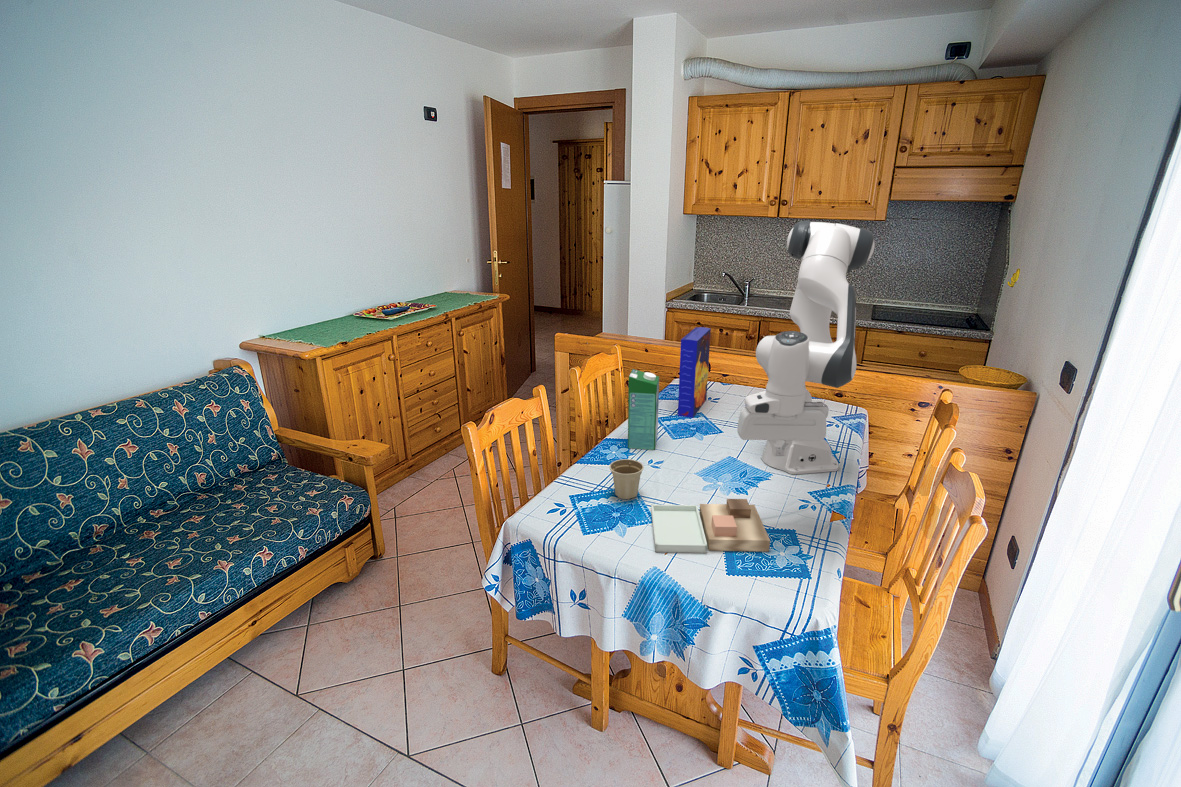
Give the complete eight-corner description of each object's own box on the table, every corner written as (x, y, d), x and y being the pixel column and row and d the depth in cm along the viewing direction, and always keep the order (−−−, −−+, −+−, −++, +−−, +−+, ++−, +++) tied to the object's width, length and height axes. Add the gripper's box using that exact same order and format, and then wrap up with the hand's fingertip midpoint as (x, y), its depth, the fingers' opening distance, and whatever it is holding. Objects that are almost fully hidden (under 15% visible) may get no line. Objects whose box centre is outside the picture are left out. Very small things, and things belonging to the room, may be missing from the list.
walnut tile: (745, 507, 143) (746, 499, 142) (750, 518, 138) (751, 509, 137) (726, 507, 143) (726, 498, 142) (729, 517, 138) (730, 509, 137)
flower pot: (607, 486, 160) (607, 459, 157) (640, 484, 161) (640, 457, 158) (611, 503, 151) (611, 475, 148) (645, 501, 152) (646, 473, 149)
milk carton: (655, 450, 183) (657, 377, 174) (627, 448, 185) (628, 376, 176) (657, 439, 191) (659, 369, 183) (631, 437, 193) (632, 368, 185)
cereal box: (693, 417, 209) (697, 340, 199) (677, 415, 212) (681, 338, 202) (706, 399, 228) (710, 327, 218) (692, 397, 230) (695, 326, 220)
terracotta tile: (732, 524, 135) (732, 515, 135) (736, 536, 131) (736, 527, 130) (711, 524, 136) (712, 515, 135) (714, 535, 131) (715, 526, 130)
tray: (696, 511, 147) (697, 505, 146) (707, 552, 130) (707, 545, 129) (651, 511, 147) (651, 504, 147) (655, 551, 130) (655, 544, 130)
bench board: (753, 514, 145) (754, 504, 144) (768, 551, 130) (770, 540, 129) (699, 513, 146) (699, 503, 145) (708, 550, 131) (709, 539, 130)
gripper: (824, 397, 133) (817, 450, 137) (738, 397, 134) (734, 449, 138) (834, 406, 127) (826, 461, 131) (743, 406, 128) (739, 460, 132)
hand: (778, 455), depth 135 cm, fingers closed
